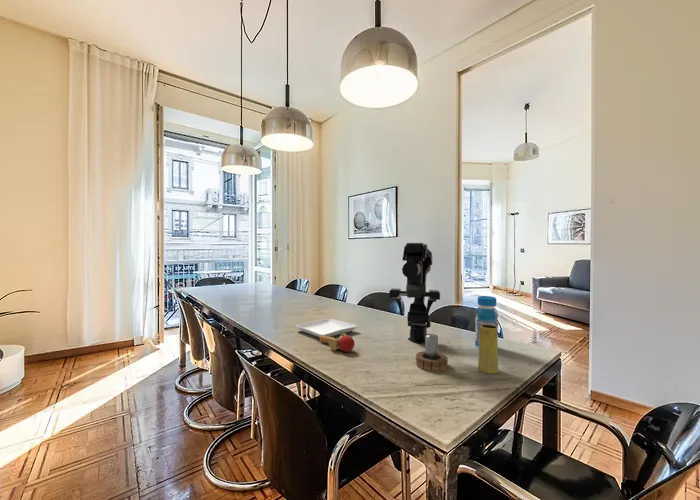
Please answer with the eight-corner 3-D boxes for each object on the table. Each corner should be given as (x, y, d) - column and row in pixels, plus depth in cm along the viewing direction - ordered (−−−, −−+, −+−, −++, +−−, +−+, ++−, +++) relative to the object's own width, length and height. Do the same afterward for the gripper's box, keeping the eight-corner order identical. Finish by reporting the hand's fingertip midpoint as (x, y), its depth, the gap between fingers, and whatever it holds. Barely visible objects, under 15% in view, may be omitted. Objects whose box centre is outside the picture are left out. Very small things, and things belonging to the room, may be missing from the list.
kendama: (313, 348, 122) (343, 353, 109) (314, 331, 123) (344, 335, 110) (328, 347, 127) (358, 352, 114) (329, 331, 129) (359, 334, 116)
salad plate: (294, 331, 141) (294, 324, 141) (329, 324, 155) (329, 317, 155) (322, 342, 125) (322, 334, 125) (358, 332, 140) (358, 325, 140)
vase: (497, 375, 94) (498, 329, 93) (476, 371, 97) (476, 326, 97) (499, 369, 99) (500, 325, 99) (479, 365, 102) (480, 322, 102)
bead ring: (431, 357, 108) (431, 349, 108) (453, 367, 100) (453, 358, 100) (409, 363, 103) (410, 354, 103) (431, 373, 95) (431, 364, 95)
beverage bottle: (483, 352, 115) (484, 299, 114) (470, 344, 123) (470, 295, 123) (503, 350, 116) (503, 298, 116) (488, 343, 125) (489, 295, 124)
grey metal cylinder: (431, 362, 104) (431, 333, 104) (440, 366, 101) (440, 336, 101) (422, 364, 102) (423, 334, 102) (431, 368, 99) (431, 338, 99)
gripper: (387, 276, 110) (387, 319, 110) (440, 278, 106) (440, 323, 106) (390, 274, 121) (390, 313, 121) (439, 275, 116) (439, 316, 117)
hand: (414, 316), depth 116 cm, fingers open, 9 cm apart
